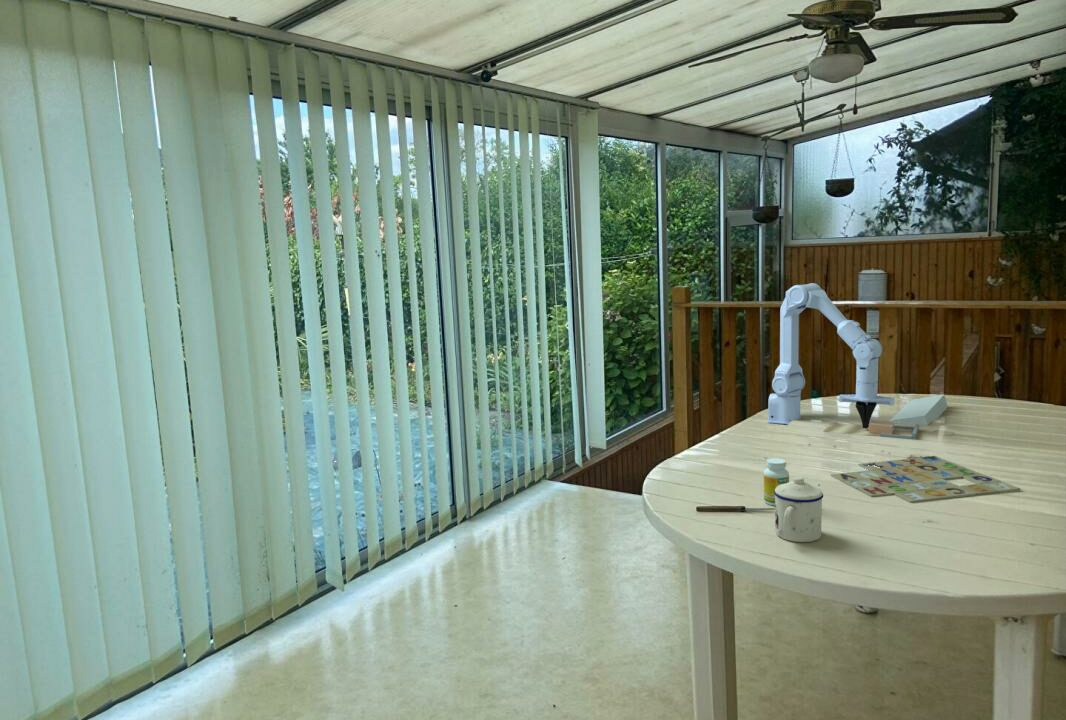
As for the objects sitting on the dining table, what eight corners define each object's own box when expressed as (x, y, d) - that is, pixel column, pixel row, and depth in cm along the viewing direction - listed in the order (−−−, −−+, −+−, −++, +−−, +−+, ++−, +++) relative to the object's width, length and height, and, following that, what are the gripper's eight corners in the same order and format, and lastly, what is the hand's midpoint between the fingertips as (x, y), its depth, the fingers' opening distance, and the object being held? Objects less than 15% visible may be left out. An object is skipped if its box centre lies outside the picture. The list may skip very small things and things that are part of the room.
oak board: (823, 436, 217) (823, 431, 217) (830, 427, 227) (830, 422, 227) (879, 441, 209) (879, 436, 209) (884, 431, 220) (884, 426, 219)
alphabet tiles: (934, 459, 193) (934, 454, 193) (1021, 493, 166) (1021, 488, 166) (817, 471, 188) (817, 466, 187) (887, 508, 161) (887, 502, 160)
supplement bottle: (773, 496, 169) (774, 455, 168) (794, 502, 165) (794, 460, 163) (758, 502, 166) (758, 460, 164) (778, 508, 162) (779, 465, 160)
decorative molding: (893, 436, 225) (929, 431, 219) (889, 420, 225) (924, 415, 219) (915, 413, 252) (948, 408, 245) (911, 399, 252) (944, 394, 245)
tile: (868, 432, 213) (869, 423, 213) (871, 427, 218) (871, 419, 218) (891, 435, 210) (892, 426, 210) (893, 430, 215) (894, 421, 215)
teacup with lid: (782, 522, 153) (782, 468, 152) (827, 531, 148) (829, 474, 146) (762, 542, 144) (762, 485, 142) (810, 552, 139) (811, 492, 137)
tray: (879, 441, 209) (879, 430, 209) (884, 431, 220) (884, 421, 219) (915, 444, 205) (915, 433, 204) (918, 434, 215) (919, 423, 214)
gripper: (837, 382, 215) (836, 428, 217) (893, 385, 207) (891, 433, 209) (841, 378, 221) (840, 423, 223) (895, 381, 213) (894, 427, 215)
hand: (865, 427), depth 216 cm, fingers closed
